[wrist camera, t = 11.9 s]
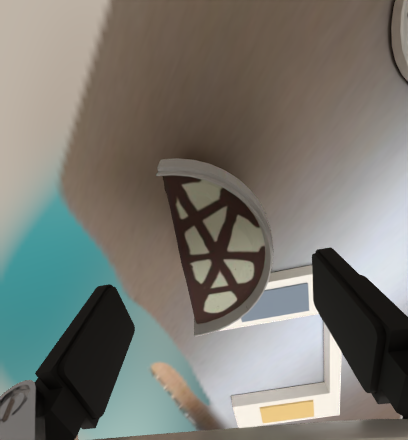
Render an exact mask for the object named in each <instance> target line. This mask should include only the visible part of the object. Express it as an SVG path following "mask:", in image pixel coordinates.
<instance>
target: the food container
mask: <svg viewBox="0 0 408 440" xmlns="http://www.w3.org/2000/svg"><path fill="white" fill-rule="evenodd" d="M157 169H158V173H157V174H156V176H163V180H164V185H165V191H166V193H167V197H168V201H169V205H170V209H171V214H172V219H173V223H174V228H175V233H176V237H177V243H178V248H179V253H180V258H181V263H182V267H183V271H184V274H185V278H186V282H187V286H188V291H189V295H190V299H191V304H192V308H193V312H194V337H195V336H201V335H206V334H209V333H213V332H216V331H219V330H221V329H223V328H225V327H228V326H230V325H231V324H233V323H234V322H236V321H238V320H239V319H241V318H242V317H243V316H244V315H245V314H247V313H248V312H249V311H250V310H251V309H252V308H253V307H254V305H255V304H256V303H257V302H258V300H259V299H260V297H261V296H262V294H263V293H264V291H265V288H266V286H267V284H268V281H269V278H270V273H271V269H272V265H273V253H274V249H273V241H272V234H271V230H270V225H269V222H268V219H267V216H266V213H265V211H264V209H263V207H262V205H261V204H260V202H259V200H258V199H257V198H256V196H255V195H254V194H253V192H252V191H251V190H250V189H249V188H248V187H247V186H246V185H245V184H244V183H243V182H241V181H240V180H239V179H238V178H236V177H235V176H233V175H232V174H230V173H228V172H227V171H225V170H223V169H221V168H219V167H216V166H214V165H211V164H209V163H205V162H201V161H197V160H191V159H178V158H174V159H161V160H160V163H159V165H158V167H157Z"/></svg>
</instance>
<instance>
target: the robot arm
mask: <svg viewBox="0 0 408 440" xmlns="http://www.w3.org/2000/svg"><path fill="white" fill-rule="evenodd" d="M391 35H392V48H393V53H394V57H395V61H396V63H397V66H398V68H399V70H400V72H401V74H402V75H403V76H404V78H405V79H406V80H407V81H408V0H395V4H394V9H393V17H392V25H391ZM312 274H313V302H314V305H315V308H316V309H317V311H318V313H319V314H320V316H321V318H322V320H323V321H324V323H325V325H326V326H327V328H328V330H329V331H330V333H331V335H332V337H333V338H334V340H335V342H336V343H337V345H338V347H339V348H340V350H341V352H342V353H343V355H344V357H345V359H346V360H347V362H348V364H349V365H350V367H351V369H352V370H353V372H354V374H355V376H356V377H357V379H358V381H359V382H360V384H361V386H362V387H363V389H364V390H365V391H366V392H367V393H372V395H373V397H374V398H375V400H376V402H377V403H378V404H386V403H391V405H392V406H393V408H394V409H395V411H396V412H397V413H399V414H400V419H369V420H349V421H330V422H313V423H300V424H286V425H272V426H258V427H244V428H231V429H218V430H205V431H192V432H180V433H167V434H155V435H142V436H130V437H119V438H107V439H95V440H408V317H407V316H406V315H405V314H404V313H403V312H402V311H401V310H400V309H399V308H398V307H397V306H396V305H395V304H394V303H393V302H392V301H390V300H389V299H388V298H387V297H386V296H385V295H384V294H383V293H382V292H381V291H380V290H379V289H378V288H377V287H376V286H375V285H374V284H373V283H372V282H370V281H369V280H368V279H367V278H366V277H365V276H362V275H359V274H358V273H357V272H356V271H355V270H354V269H353V268H352V267H351V266H350V265H349V264H348V263H347V262H346V261H345V260H344V259H343V258H342V257H341V256H340V255H339V254H338V253H337V252H336V251H335V250H334V249H332V248H325V249H319V250H316V253H315V254H313V255H312ZM134 331H135V327H134V324H133V322H132V320H131V318H130V316H129V314H128V312H127V310H126V308H125V305H124V303H123V302H122V299H121V297H120V295H119V293H118V291H117V289H116V288H115V287H113V286H112V285H103V286H98V287H97V288H96V289H95V291H94V292H93V293H92V295H91V296H90V298H89V299H88V300H87V302H86V303H85V305H84V306H83V307H82V309H81V310H80V312H79V313H78V314H77V316H76V317H75V318H74V320H73V321H72V323H71V324H70V326H69V327H68V328H67V330H66V331H65V332H64V334H63V335H62V337H61V338H60V339H59V341H58V342H57V343H56V345H55V346H54V348H53V349H52V351H51V352H50V353H49V355H48V356H47V358H46V359H45V360H44V362H43V363H42V364H41V366H40V367H39V369H38V370H37V371H36V373H35V374H36V375H37V377H38V379H37V380H36V382H33V381H32V380H25V381H23V382H20V383H18V384H16V385H14V386H12V387H11V388H10V389H8V390H7V391H6V392H4V393H3V394H2V395H1V396H0V440H78V432H79V430H80V428H82V429H90V428H96V426H97V423H98V420H99V418H100V417H101V416H102V415H103V414H104V412H105V409H106V407H107V404H108V401H109V399H110V396H111V393H112V391H113V388H114V385H115V383H116V380H117V377H118V375H119V372H120V369H121V367H122V364H123V361H124V359H125V356H126V353H127V351H128V348H129V345H130V342H131V340H132V337H133V335H134Z"/></svg>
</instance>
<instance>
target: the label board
mask: <svg viewBox="0 0 408 440" xmlns="http://www.w3.org/2000/svg"><path fill="white" fill-rule="evenodd" d="M316 314H319V313H318V311H317V309H316V308H315V305H314V302H313V274H312V265H310V266H305V267H299V268H294V269H289V270H283V271H278V272H273V273H270V278H269V281H268V284H267V286H266V288H265V291H264V293H263V294H262V296H261V297H260V299H259V300H258V302H257V303H256V304H255V305H254V307H253V308H252V309H251V310H250V311H249V312H248V313H247V314H245V315H244V316H243V317H242V318H241V319H239V320H238V321H236V322H234V323H233V324H231V325H230V326H228V327H225V328H223V329H221V330H219V331H222V330H228V329H234V328H239V327H245V326H251V325H257V324H263V323H269V322H275V321H280V320H286V319H292V318H298V317H304V316H310V315H316ZM323 324H324V382H322V383H315V384H308V385H301V386H294V387H288V388H281V389H274V390H267V391H261V392H254V393H247V394H240V395H233V396H231V398H232V406H233V410H234V414H235V417H236V421H237V424H238V428H244V427H255V426H262V425H269V424H277V423H284V422H291V421H299V420H306V419H313V418H321V417H328V416H335V415H340V384H341V353H342V352H341V350H340V348H339V347H338V345H337V343H336V342H335V340H334V338H333V337H332V335H331V333H330V331H329V330H328V328H327V326H326V325H325V323H324V321H323Z"/></svg>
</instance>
